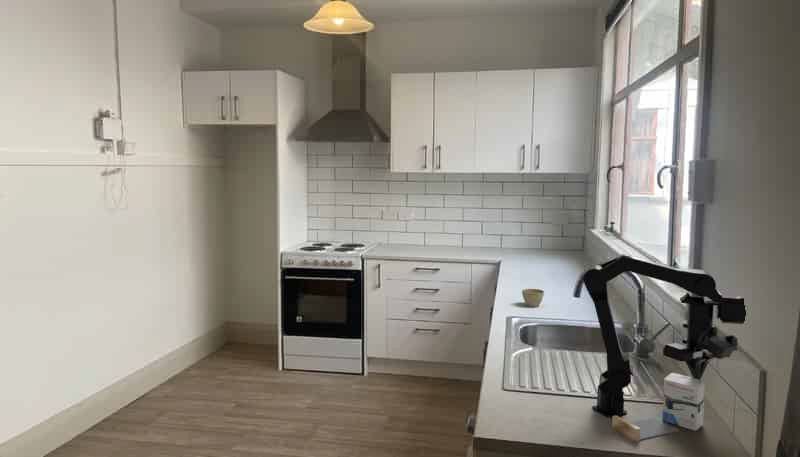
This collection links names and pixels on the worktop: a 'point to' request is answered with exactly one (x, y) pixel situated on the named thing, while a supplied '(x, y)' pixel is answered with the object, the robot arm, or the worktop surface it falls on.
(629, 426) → the rail
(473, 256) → the worktop surface
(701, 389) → the ink box
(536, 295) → the flower pot
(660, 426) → the felt mat
